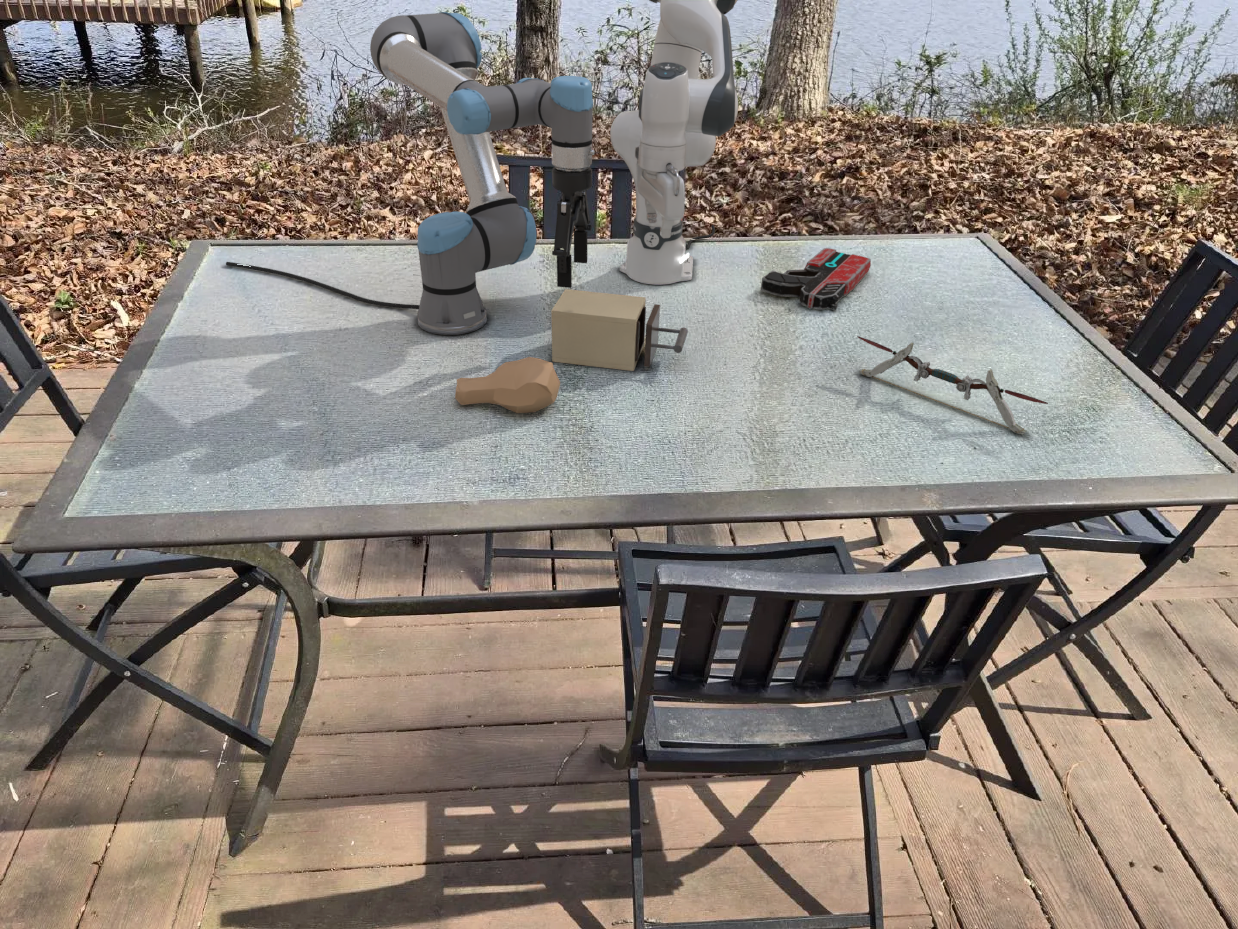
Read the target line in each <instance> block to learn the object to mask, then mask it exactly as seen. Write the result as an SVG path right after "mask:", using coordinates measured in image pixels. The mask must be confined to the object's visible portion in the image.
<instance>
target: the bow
mask: <svg viewBox="0 0 1238 929" xmlns="http://www.w3.org/2000/svg"><path fill="white" fill-rule="evenodd" d="M856 337H857V338H858V339H859V340H861V341H863V342H865V343H866V344H868V345H871V346H872V347H875V348H877V349H880V350H882V351H885V352H889V353H891V354H892V355H893V357H892V358H888V359H886V360H884V361H882V362H880V363H878V364H877V365H876V366H875V367H873V368H872V369H865V368H864V369H863V368H862V369H861V370H859V374H860V375H862V376H864V377H867V378H873V379H876V380H879V381H881V382H883V383H887V384H890V385H892V386H894V387H897V388H900V389H903V390H905V391H908V392H911V393H913V394H915V395H919V396H921V397H923V398H926V399H928V400H932V401H935V402H937V403H940V404H942V405H946V406H948V407H950V408H953V409H955V410H959V411H962V412H964V413H966V414H969V415H972V416H974V417H977V418H980V419H982V420H984V421H988V422H990V423H993V424H996V425H999V426H1002V427H1004V428H1007V429H1009V430H1010V431H1012V432H1013V433H1015V434H1018V435H1025V434H1026V433H1027V431H1028V430H1027V429H1025V427H1023V426H1021V425H1019V424H1018V423H1017V422H1016V420H1015V416H1014V415H1013V412H1012V410H1011V408H1010V406H1009V405H1008V403H1007V401H1006V400H1005V399H1004V398H1003V396H1002V393H1005V394H1007V395H1010V396H1012V397H1016V398H1018V399H1021V400H1026V401H1029V402H1031V403H1037V404H1038V403H1039V404H1044V405H1048V404H1049V402H1047V401H1044V400H1041V399H1038V398H1036V397H1033V396H1030V395H1026V394H1024V393H1021V392H1016V391H1014V390H1010V389H1009V390H1008V389H1004V388H1000V386H999V382H998V381H997V380H996V378H995V375H994V371H993V369H992V368H989V370H987V373H986V376H985V381H984V380H982V379H981V378H971V377H970V376H969V375H966V376H965V377H964V378H962V379H961V378H959V377H958V375H956V374H954V373H952V372H949V371H945V370H943V369H940V368H931V367H930V366H931V363H930V361H928V362H927V361H925V362H923V360H921V359H920V358H919V357H917V356H915V355H910V354H911V353H912V351H913V349H914V345H915V343H914V342H913V341H912V342H910V343H908V345H907V346H906V347H905V348H902V349H900V350H899V351H898V352H897V351H896V350H892V349H891V348H889V347H887V346H886V345H882V344H880V343H878V342H876V341H873V340H870V339H868V338H865V337H862V336H859V335H857V336H856ZM904 362H907V363H908V364H909V365H910V366H912V367H913V368H914V369H915V370H916V374H915V375H914V378H913V381H914V382H916V383H918V381H921V378H922V379H925V380H926V379H928V378H929V376H931V377H933V378H936V379H940V380H942V381H944V382H948V383H950V384H953V385H956V386H955V389H956V390H957V391H958V392H959V393H963V400H966V401H969V400H970V399H971V395H972V392H971V390H986V391H987V392H988V394H989V395H990V397H991V399H992V400H993V402H994V403H995V406H996V409H997V410H998V412H999V414H1000V415H1001V418H1002V420H1003V422H1004V423H1005V425H1004V424H1001V423H999V422H996V421H993V420H991V419H988V418H986V417H983V416H980V415H977V414H975V413H971V412H969V411H966V410H965V409H961V408H958V407H956V406H953V405H950V404H948V403H945V402H943V401H939V400H937V399H934V398H932V397H929V396H926V395H923V394H921V393H918V392H916V391H913V390H910V389H908V388H905V387H902V386H899V385H897V384H895V383H892V382H889V381H886V380H885V379H884V380H883V379H881V378H879V377H876V376H877V375H881V374H883V373H884V372H886V371H887V370H889V369H891V368H893V367H894V366H897V365H899V364H901V363H904Z"/></svg>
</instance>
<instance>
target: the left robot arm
mask: <svg viewBox="0 0 1238 929" xmlns="http://www.w3.org/2000/svg"><path fill="white" fill-rule="evenodd" d="M369 44H370V45H369V46H370V47H369V48H370V49H369V51H370V57H371V60H372V63H373V65H374V66H375V68H376V70H377V71H378V72H379V73H380V74H381V75H382V76H383V77H384V78H386V79H387V80H389V81H390V82H392V83H394V84H397V85H406V86H408V88H410V89H412V90H414V91H415V92H416V93H418V94H419V95H421V96H422V97H424V98H426V99H427V100H428V101H430V102H432V103H434V104H435V105H436V106H438V107H439V108H440V111H441V114H442V117H443V121H444V124H445V127H446V131H447V133H448V137H449V140H450V143H451V146H452V149H453V153H454V155H455V158H456V162H457V165H458V168H459V171H460V175H461V178H462V181H463V185H464V188H465V191H466V194H467V197H468V201H469V204H468V206H467V208H466V210H465V212H464V211H457V210H455V211H454V210H453V211H443V212H438V213H436V214H432V215H429V216H427V217H426V218H424V220H422V221H421V222H420V224H419V225H418V227H417V230H416V231H417V232H416V233H417V243H416V246H417V247H416V248H417V250H418V258H419V259H418V260H419V267H420V275H421V276H420V278H421V284H422V292H421V297H420V302H419V304H409V303H408V304H406V303H397V302H396V303H395V302H387V301H379V300H374V299H369V298H367V297H366V298H365V297H362V296H359V295H357V294H355V293H350V292H348V291H345V290H343V289H339V288H337V287H334V286H331V285H329V284H326V283H323V282H320V281H317V280H313V279H311V278H307V277H305V276H301V275H298V274H293V273H290V272H287V271H281V270H277V269H273V268H267V267H262V266H258V265H257V266H256V265H251V264H248V265H249V266H251V267H249V266H243V265H237V264H240V263H239V262H238V263H237V262H232V261H226V262H225V265H226V266H229V267H234V268H239V269H240V268H241V269H245V270H246V269H247V270H251V271H258V272H264V273H269V274H274V275H278V276H281V277H282V276H283V277H287V278H290V279H295V280H297V281H301V282H305V283H308V284H311V285H314V286H316V287H319V288H322V289H325V290H328V291H331V292H333V293H337V294H339V295H341V296H345V297H347V298H351V299H353V300H356V301H357V302H362V303H365V304H369V305H373V306H378V307H379V306H380V307H385V308H396V309H406V310H408V309H409V310H417V315H416V318H417V325H418V326H419V328H420V329H421V330H423V331H424V332H427V333H430V334H433V335H440V336H459V335H465V334H469V333H473V332H476V331H477V330H480V329H481V328H483V327H484V326H485V325H486V323H487V320H488V316H487V310H486V306H485V304H484V302H483V299H482V298H481V295H480V293H479V291H478V288H477V278H476V277H477V276H476V274H477V273H479V272H485V271H488V270H491V269H497V268H501V267H505V266H509V265H510V266H512V265H515V264H517V263H520V262H523V261H526V260H527V259H529V258H530V257H531V256H532V255H533V253H534V251H535V249H536V244H537V237H538V236H537V225H536V221H535V218H534V216H533V214H532V213H531V212H530V210H529V209H528V208H527V207H524V206H521V205H520V206H519V202H518V199H517V197H516V196H515V195H514V194H511V193H510V192H509V191H508V190H507V186H506V183H505V180H504V176H503V173H502V170H501V168H500V163H499V160H498V156H497V154H496V151H495V147H494V144H493V140H492V137H491V133H490V132H497V131H502V130H503V131H504V130H509V129H517V128H523V127H530V126H536V125H538V126H539V125H540V126H543V127H547V128H550V130H551V164H552V166H553V167H552V169H551V176H552V178H551V179H552V180H551V181H552V187H553V188H554V189H555V190H557V191H560V192H561V193H562V198H560V200H558V201H557V203H556V206H557V207H556V208H557V209H556V213H557V214H556V223H555V231H554V232H555V234H554V241H553V242H554V243H553V250H551V255H552V256H556V277H557V278H556V285H557V286H556V287H557V288H564V289H571V288H572V286H573V285H572V284H573V279H572V278H573V274H572V272H573V270H572V267H573V266H572V265H573V264H572V262H573V263H577V264H588V231H589V232H591V231H592V229H593V228H592V226H593V225H592V224H591V218H590V210H589V201H588V195H587V191H588V190H590V189H591V188H592V186H593V168H591V166H592V164H593V156H594V155H596V151H595V149H592V147H593V114H594V113H593V112H594V111H593V110H594V99H593V84H592V82H591V80H590V79H588V78H587V77H584V76H576V75H559V76H555V77H553V79H551V81H550V82H548V81H545V80H544V79H540V78H536V77H534V78H533V77H523V78H521V79H519V80H518V81H517V82H516V83H511V84H500V85H499V84H498V85H491V86H486V85H484V84H482V83H480V82H478V81H477V80H476V79H477V77H478V75H479V71H478V68H479V67H480V65H481V64H482V58H483V54H482V52H481V51H482V48H483V47H482V43H481V39H480V36H479V33H478V31H477V29H476V27H475V25H474V24H473V23H472V20H470V19H469V18H468V17H467V16H464V15H463V14H462V13H459V12H448V11H440V12H436V13H434V12H433V13H421V14H420V13H419V14H408V15H404V14H402V15H394V16H392V17H389V18H387V19H385V20H383V21H382V22H381V23H380V24H379V25H378V26H377V27H376V28H375V30H374V32H373V34H372V36H371V40H370V43H369ZM574 229H575V230H574ZM572 242H573V243H572ZM572 244H573V260H572V254H571V247H572Z"/></svg>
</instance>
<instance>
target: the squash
mask: <svg viewBox="0 0 1238 929" xmlns="http://www.w3.org/2000/svg"><path fill="white" fill-rule="evenodd" d="M558 376H559V375H558V374H557V372H556V370H555V367H554V362H552V361H548V360H545V359H541V358H538V357H533V356H527V357H524V358H521V359H516V360H510V361H506V362H503V363H502V364H501V365H499V366H498V367H497V368H496V369H495V370H494V371H493V372H491V373H490V374H488V375H485V376H477V377H459V378H457V379H456V387H455V393H454V399H455V400H456V401H457V402H458V404H460V406H465V405H474V404H492V405H498V406H501V407H502V408H504V409H507V410H509V411H511V412H513V413H516V414H530V413H532V414H533V413H537V412H539V411H540V410H543V409H545V408H547V407H549V406H551V405H553V404H555V402H556V400H557V398H558V395H559V391H560V386H561V380H560V379H559V378H560V377H558Z"/></svg>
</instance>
